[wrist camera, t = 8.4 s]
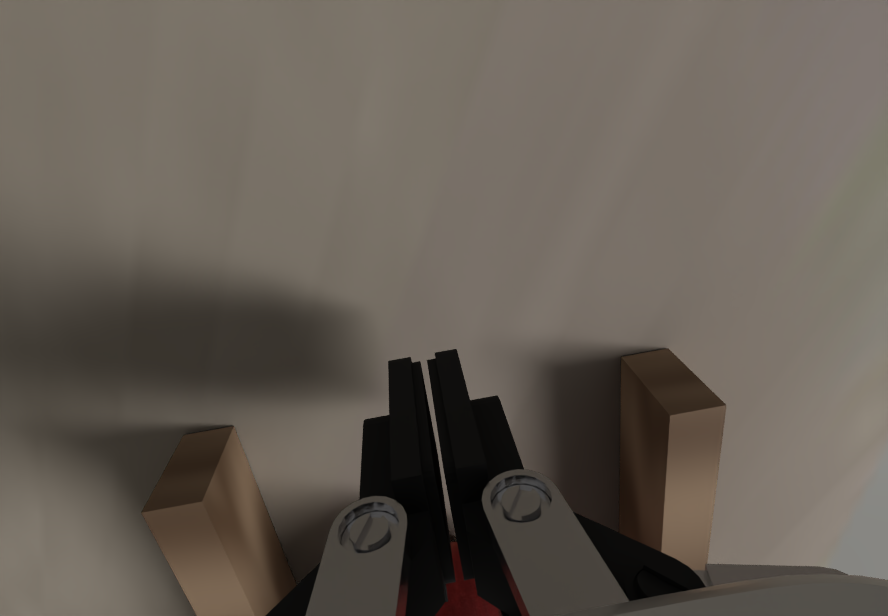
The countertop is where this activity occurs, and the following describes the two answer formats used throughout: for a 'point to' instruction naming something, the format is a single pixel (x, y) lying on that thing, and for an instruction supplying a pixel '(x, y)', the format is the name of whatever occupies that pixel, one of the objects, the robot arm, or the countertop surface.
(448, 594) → the onion
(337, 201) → the countertop surface
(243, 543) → the corral
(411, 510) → the robot arm
